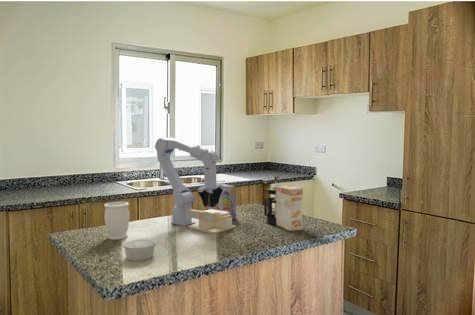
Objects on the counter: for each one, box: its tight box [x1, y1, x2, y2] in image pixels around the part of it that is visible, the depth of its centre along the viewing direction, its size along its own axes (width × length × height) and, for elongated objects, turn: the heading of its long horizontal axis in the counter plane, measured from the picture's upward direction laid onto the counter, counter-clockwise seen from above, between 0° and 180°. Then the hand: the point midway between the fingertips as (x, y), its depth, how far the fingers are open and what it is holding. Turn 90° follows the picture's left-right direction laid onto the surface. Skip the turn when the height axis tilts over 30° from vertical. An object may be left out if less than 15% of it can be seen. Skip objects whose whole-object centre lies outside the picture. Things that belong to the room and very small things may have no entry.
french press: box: [263, 176, 280, 226], centre depth 195 cm, size 12×9×23 cm
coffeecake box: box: [274, 183, 304, 232], centre depth 186 cm, size 15×7×20 cm, turn 23°
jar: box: [103, 201, 130, 241], centre depth 170 cm, size 11×10×15 cm
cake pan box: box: [207, 182, 237, 220], centre depth 208 cm, size 19×5×18 cm, turn 42°
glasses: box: [190, 208, 232, 222], centre depth 185 cm, size 12×16×4 cm
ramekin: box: [123, 238, 156, 262], centre depth 144 cm, size 11×11×5 cm
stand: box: [186, 209, 237, 235], centre depth 186 cm, size 15×18×7 cm
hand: (211, 205), depth 188 cm, fingers open, 7 cm apart
